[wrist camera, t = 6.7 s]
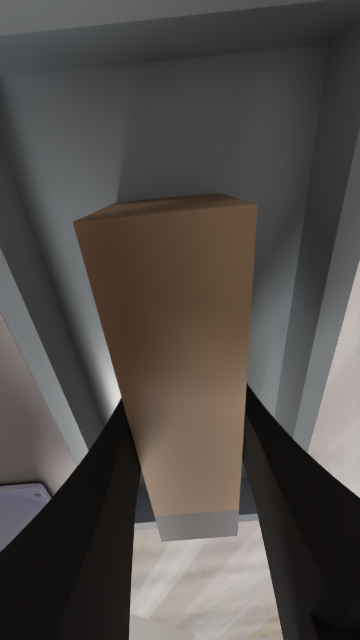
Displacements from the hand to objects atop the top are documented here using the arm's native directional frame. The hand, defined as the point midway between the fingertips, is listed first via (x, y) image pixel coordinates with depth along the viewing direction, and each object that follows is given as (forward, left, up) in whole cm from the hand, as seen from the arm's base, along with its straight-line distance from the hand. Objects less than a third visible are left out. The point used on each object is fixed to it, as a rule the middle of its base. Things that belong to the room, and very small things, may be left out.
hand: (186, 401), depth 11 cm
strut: (0, 0, -3) cm, 3 cm away
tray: (0, 0, -3) cm, 3 cm away
